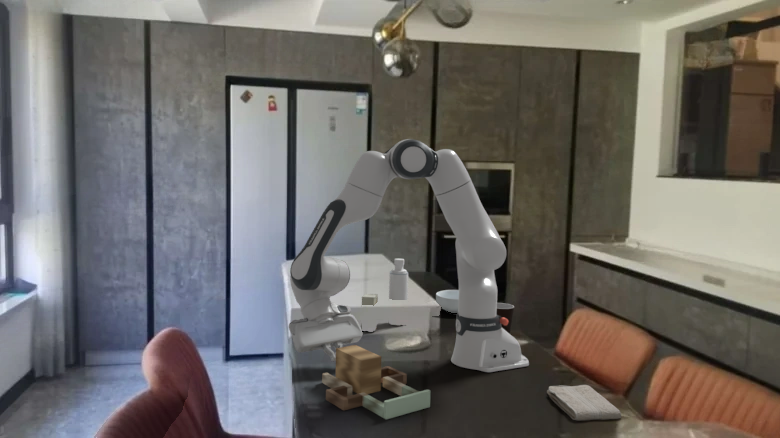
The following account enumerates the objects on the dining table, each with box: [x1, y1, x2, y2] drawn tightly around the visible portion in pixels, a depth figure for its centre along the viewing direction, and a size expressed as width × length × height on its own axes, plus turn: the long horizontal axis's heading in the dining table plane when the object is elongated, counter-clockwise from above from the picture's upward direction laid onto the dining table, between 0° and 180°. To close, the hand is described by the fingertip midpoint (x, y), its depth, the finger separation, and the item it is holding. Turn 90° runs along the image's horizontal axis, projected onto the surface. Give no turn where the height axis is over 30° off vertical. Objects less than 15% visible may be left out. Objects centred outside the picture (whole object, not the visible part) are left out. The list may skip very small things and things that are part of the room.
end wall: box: [383, 388, 432, 420], centre depth 145 cm, size 1×13×4 cm, turn 127°
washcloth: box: [546, 384, 622, 421], centre depth 152 cm, size 12×18×3 cm, turn 10°
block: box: [335, 344, 382, 395], centre depth 161 cm, size 12×6×9 cm, turn 37°
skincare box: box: [361, 293, 379, 306], centre depth 215 cm, size 6×4×12 cm
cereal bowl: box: [435, 289, 459, 314], centre depth 244 cm, size 17×17×7 cm
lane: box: [321, 365, 420, 419], centre depth 157 cm, size 27×23×2 cm
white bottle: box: [388, 257, 409, 300], centre depth 223 cm, size 7×7×25 cm
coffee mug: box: [497, 302, 515, 335], centre depth 214 cm, size 12×9×10 cm
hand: (338, 359), depth 169 cm, fingers closed
